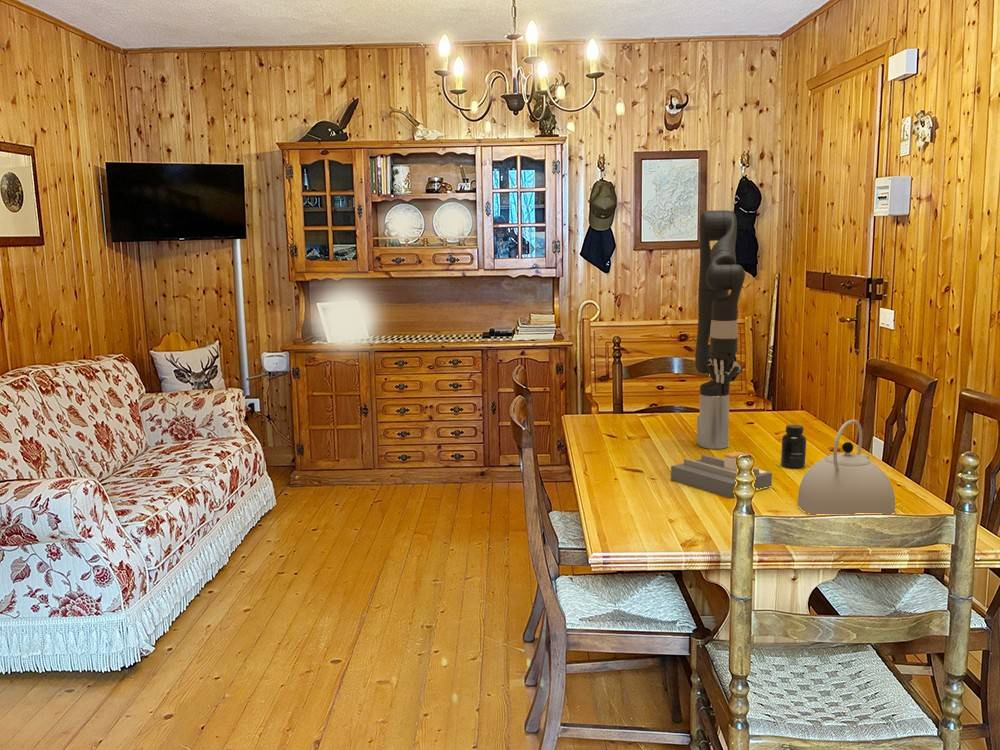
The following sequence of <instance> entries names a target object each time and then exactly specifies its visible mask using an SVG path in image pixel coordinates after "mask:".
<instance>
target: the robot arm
mask: <svg viewBox="0 0 1000 750" xmlns="http://www.w3.org/2000/svg"><path fill="white" fill-rule="evenodd" d="M698 225H699V226H698V228H699V235H698V237H699V277H698V293H697V296H698V297H697V298H698V299H697V301H698V303H697V304H698V305H697V307H698V308H697V311H698V313H697V315H698V317H697V318H698V319H697V333H696V342H695V343H696V344H695V353H694V354H695V357H694V361H695V362H694V363H695V369H696V371H697V373H698V374H709V375H710V377H711V380H709V381H706V382H704V383H702V384H700V386H699V415H697V416H696V445H698V446H699V447H701V448H703V449H710V450H718V449H719V450H721V449H722V450H723V449H726V448H728V447H729V435H730V434H729V425H730V423H729V422H730V421H729V420H730V386H731V382H734V381H735V380H736V379H737V377H738V376H739V375H740V373H741V372H742V371H743V370H744V369H743V365H739V363H738V362H737V361H738V359H737V356H736V354H737V352H738V339H739V336H738V333H739V328H738V327H739V326H738V308H739V307H738V305H739V299H740V294H741V291H742V288H743V285H744V283H745V280H746V272H745V269H744V268H743V266H742V265H740V264H737V256H736V243H737V234H738V233H737V231H738V227H737V226H738V220H737V216H736V214H735V212H734V211H733V210H727V209H726V210H720V209H719V210H704V211H702V212H701V213H700V216H699V224H698ZM711 241H713V242H715V243H714V244H713V246H712V248H711V245H710V243H711ZM729 291H730V292H729Z"/></svg>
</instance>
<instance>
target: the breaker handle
mask: <svg viewBox="0 0 1000 750" xmlns="http://www.w3.org/2000/svg"><path fill="white" fill-rule="evenodd" d="M743 454H746V453H745V452H740V451H733V452H730V453H729V452H728V453H725V454H724V455H723V456H724V457H723V460H724V469H727V470H731V471H734V472H737V467H736V463H735V461H736V457H737V456H739V455H743Z"/></svg>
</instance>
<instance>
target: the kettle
mask: <svg viewBox="0 0 1000 750" xmlns="http://www.w3.org/2000/svg"><path fill="white" fill-rule="evenodd" d="M850 424H856V426H857V429H858V430H857V431H858V446H857V451H856V454H855V453H851V452H852V451H854V445H853V443H852V442H850V441H846V442H844V443H842V446H841V449H842V451H843V452H844V453H843V452H842V453H841V452H840V453H838V447H839V442H840V439H841V435H842V433H843V431H844V430H845V429H846V427H847V426H849V425H850ZM862 446H863V428H862V425H861V423H860V422H859V420H857V419H850V420H847V421H846V422H844V423H843V424H842V425H841V427H840V428H839V429H838V432H837V434H836V437H835V440H834V444H833V454H830V455H829V454H828V455H827V456H825V457H823V458H820V459H819V460H817V462H815V463H814V464H812V465H811V466H810V467H809V469H808V470H807V471H806V472H805V474H804V475H803V477H802V478H801V481H800V483H799V484H800V485H799V487H798V494H797V495H798V496H797V497H798V498H797V504H798V506H799V507H800V508H801V509H802V510H803V511H805V513H804V514H806V513H810V514H807V515H808V516H810V515H816V514H855V513H882V514H892V513H894V512H895V513H896V497H895V492H894V488H893V485H892V483H891V481H890V478H889V477H888V476H887V474H886V473H885V472H884V470H883V469H882V468H881V467H879V466H878V465H877V464H876V463H875V462H873V461H871V459H869V457H870V455H868V454H864V453H861V452H862ZM798 506H797V507H798Z"/></svg>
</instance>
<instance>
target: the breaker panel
mask: <svg viewBox="0 0 1000 750" xmlns="http://www.w3.org/2000/svg"><path fill="white" fill-rule="evenodd" d="M700 456H701V457H700V458H699V459H690V458H683V462H682V463H679V464H673V465H671V466H670V481H674V482H677V483H681V484H683V485H687V486H689V487H694V488H696V489H697V488H698V489H700V490H702V491H707V492H709V493H713V494H716V495H719V496H722V497H726V498H729V499H735V497H734V493H733V490H734V487H735V484H736V481H735V476H736V474H737V472H734V471H731V470H727V469H724V458H723V459H722V458H719V457H716V456H711V455H709V454H708V455H707V454H705V453H704V454H701V455H700ZM753 472H754V475H755V477H756V480H755V483H754V487H755V490H756V488H758V489H760V488H764V487H769V486H772V484H773V481H772V480H773V479H772V478H773V472H770V471H766V470H764V469H763V470H762V469H760V468H757V467H754V469H753Z"/></svg>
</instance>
